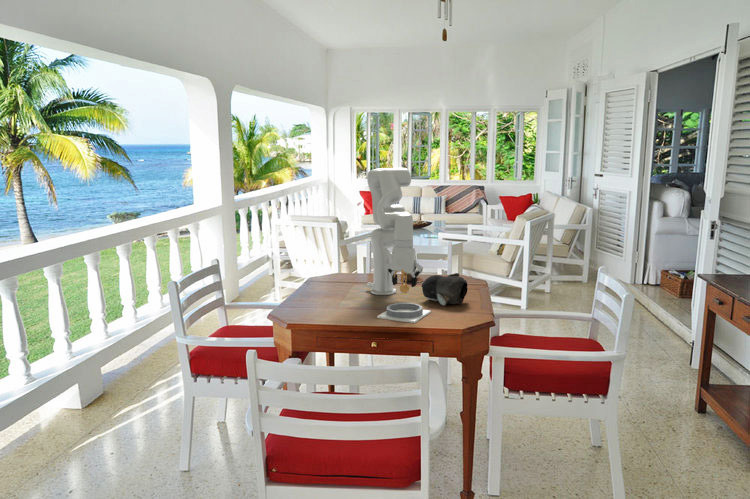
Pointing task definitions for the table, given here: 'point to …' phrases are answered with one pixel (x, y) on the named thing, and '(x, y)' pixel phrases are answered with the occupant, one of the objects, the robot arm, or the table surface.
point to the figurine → (404, 287)
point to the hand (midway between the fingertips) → (404, 285)
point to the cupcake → (411, 277)
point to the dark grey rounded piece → (445, 289)
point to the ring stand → (404, 312)
